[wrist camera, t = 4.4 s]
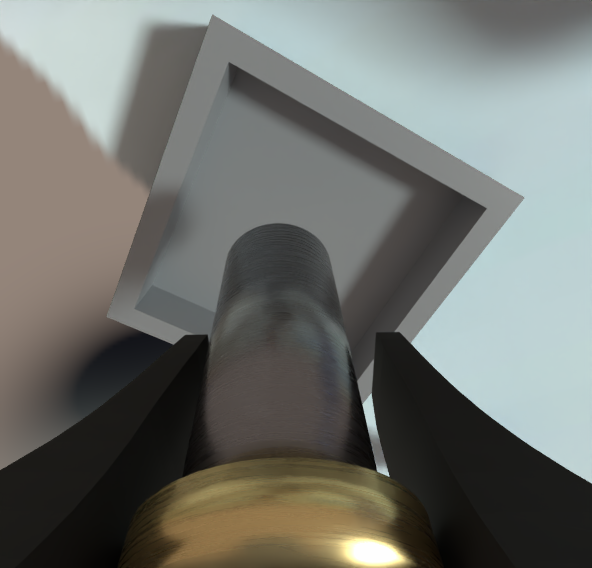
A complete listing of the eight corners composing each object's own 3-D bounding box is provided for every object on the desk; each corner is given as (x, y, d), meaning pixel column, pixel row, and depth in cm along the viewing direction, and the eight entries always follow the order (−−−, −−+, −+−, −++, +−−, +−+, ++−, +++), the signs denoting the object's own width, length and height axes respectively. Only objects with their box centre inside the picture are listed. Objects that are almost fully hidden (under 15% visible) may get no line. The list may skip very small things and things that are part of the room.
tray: (492, 180, 18) (524, 197, 15) (346, 379, 23) (351, 417, 21) (228, 26, 16) (212, 14, 13) (132, 286, 21) (106, 316, 18)
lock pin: (350, 197, 12) (483, 530, 4) (349, 320, 14) (431, 661, 7) (191, 210, 12) (39, 565, 4) (220, 331, 14) (157, 683, 7)
